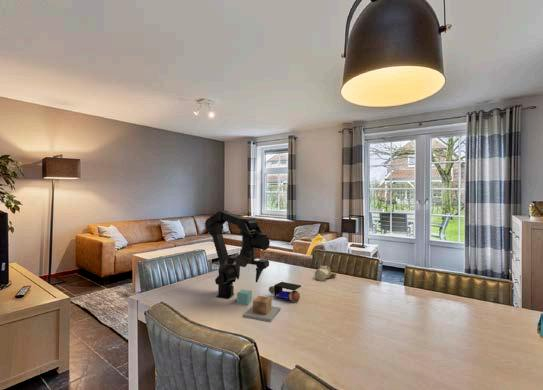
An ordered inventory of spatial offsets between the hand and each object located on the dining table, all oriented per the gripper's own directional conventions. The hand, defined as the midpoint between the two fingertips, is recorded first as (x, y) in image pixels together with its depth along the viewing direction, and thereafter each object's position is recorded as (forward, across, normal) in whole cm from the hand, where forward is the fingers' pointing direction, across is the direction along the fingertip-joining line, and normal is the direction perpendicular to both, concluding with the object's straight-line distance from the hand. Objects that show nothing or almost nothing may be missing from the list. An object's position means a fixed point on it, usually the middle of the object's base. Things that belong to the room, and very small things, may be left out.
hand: (247, 280), depth 128 cm
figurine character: (+11, +14, +12) cm, 22 cm away
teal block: (+11, -2, +1) cm, 11 cm away
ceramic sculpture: (+11, +26, +51) cm, 58 cm away
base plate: (+10, +10, -7) cm, 16 cm away
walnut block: (+9, +10, -7) cm, 15 cm away
